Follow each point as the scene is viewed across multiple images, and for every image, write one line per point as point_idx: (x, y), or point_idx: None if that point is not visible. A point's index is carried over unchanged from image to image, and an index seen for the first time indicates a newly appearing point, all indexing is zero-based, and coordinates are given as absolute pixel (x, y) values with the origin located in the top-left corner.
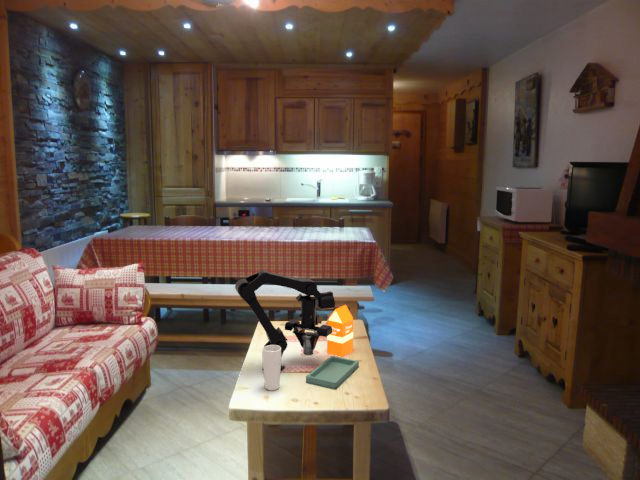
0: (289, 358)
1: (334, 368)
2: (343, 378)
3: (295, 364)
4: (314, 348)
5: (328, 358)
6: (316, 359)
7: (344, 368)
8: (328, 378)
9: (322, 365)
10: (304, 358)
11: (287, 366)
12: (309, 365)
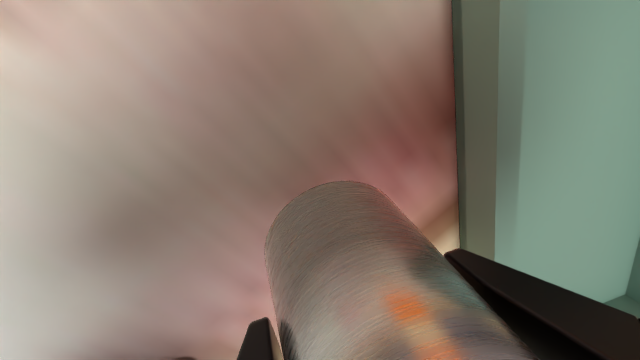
0: (6, 211)
1: (561, 104)
2: None
3: (203, 258)
4: (468, 257)
5: (505, 40)
6: (273, 7)
7: (636, 40)
8: (571, 257)
9: (515, 216)
10: (137, 86)
11: (186, 327)
12: (321, 183)
